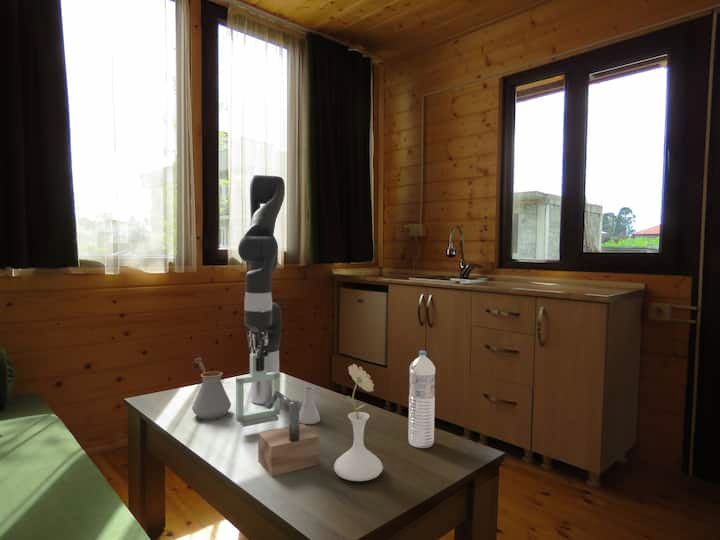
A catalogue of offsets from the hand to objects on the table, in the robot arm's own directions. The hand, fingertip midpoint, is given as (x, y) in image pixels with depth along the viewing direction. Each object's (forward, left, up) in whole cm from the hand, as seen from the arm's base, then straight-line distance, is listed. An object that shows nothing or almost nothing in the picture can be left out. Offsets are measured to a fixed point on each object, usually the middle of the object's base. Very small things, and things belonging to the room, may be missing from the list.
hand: (258, 369), depth 131 cm
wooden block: (+22, 0, -18) cm, 28 cm away
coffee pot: (-25, -8, -18) cm, 32 cm away
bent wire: (+16, 0, -11) cm, 19 cm away
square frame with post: (0, 0, -15) cm, 15 cm away
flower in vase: (+34, +12, -18) cm, 40 cm away
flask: (-1, +16, -18) cm, 24 cm away
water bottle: (+29, +35, -18) cm, 49 cm away
